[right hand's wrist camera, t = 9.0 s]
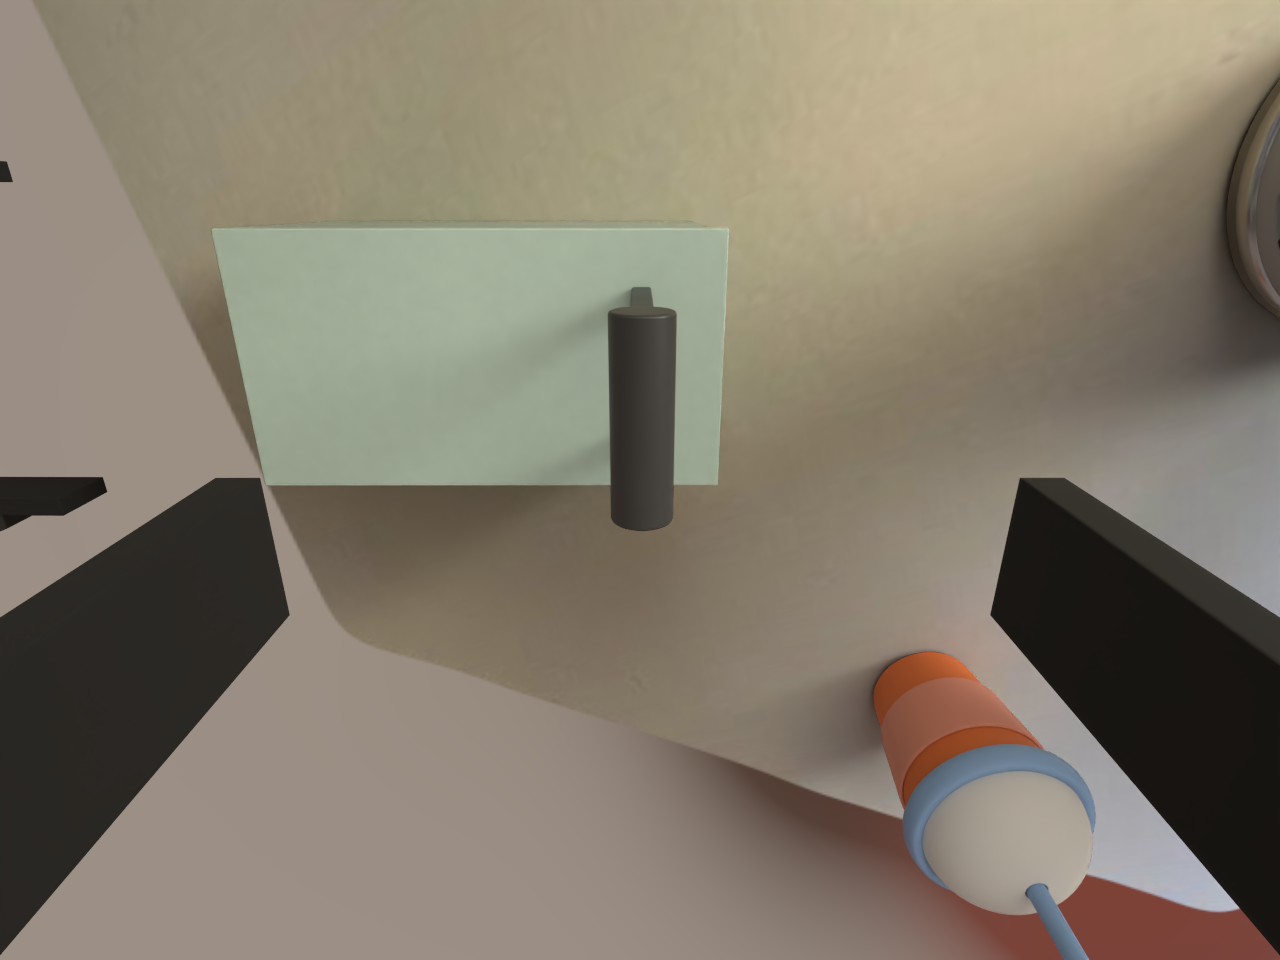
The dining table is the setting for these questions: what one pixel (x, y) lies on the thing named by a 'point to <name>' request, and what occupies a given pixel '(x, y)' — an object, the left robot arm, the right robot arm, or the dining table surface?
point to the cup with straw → (983, 795)
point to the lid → (483, 356)
